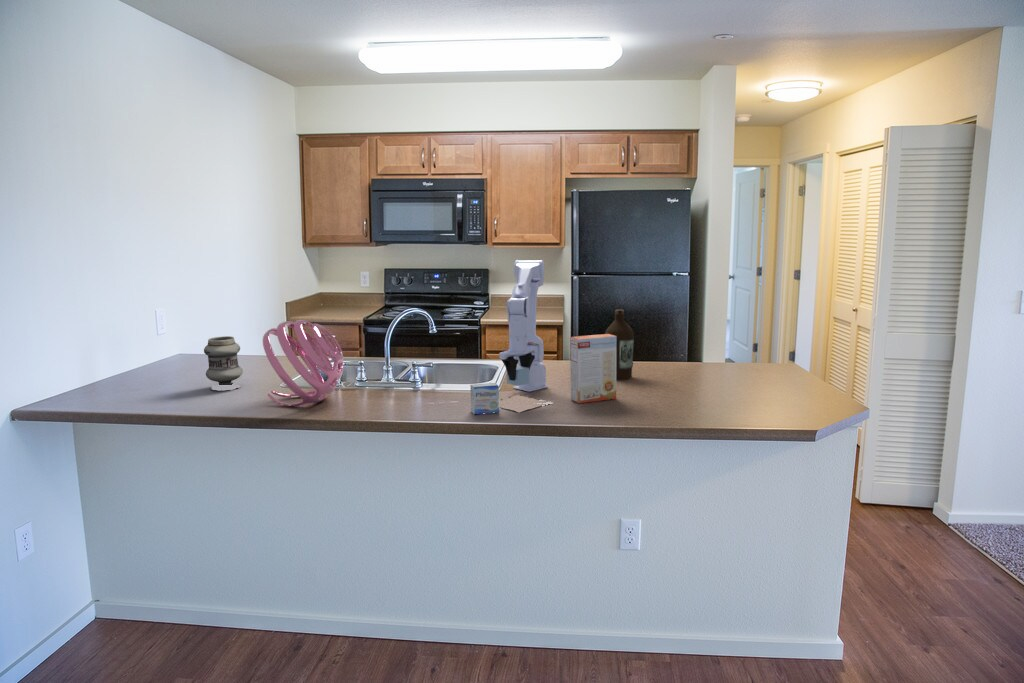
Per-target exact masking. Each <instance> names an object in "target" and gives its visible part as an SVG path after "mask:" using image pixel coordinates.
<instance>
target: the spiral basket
mask: <svg viewBox="0 0 1024 683" xmlns="http://www.w3.org/2000/svg"><path fill="white" fill-rule="evenodd" d="M303 324H304V325H306V326H307V327H308V328H310V329H311V332H312V334H313V336H314V337H313V336H312V335H311V334H310V333H309V332H308V331H306V330H305V329H304V326H303ZM286 327H289V328H291V329H293V330H294V334H295V335H296V338H297V340H298V341H297V340H296V339H295V338H293V337H292V336H291V335H289V334H288V333H287V332H286V330H285V329H286ZM322 331H323V332H324V333H325V334H324V333H323V332H322ZM270 335H273V336H276V337H277V340H278V342H279V345H280V347H281V350H282V351H283V353H284V355H285V357H286V358H287V360H288V361H289V362H290V364H291V365H292V367H293V368H294V369H295V371H296V372H297V373H298V374H299V375H300V377H301V378H303V380H304V381H305V382H306V383H307V384H309V385H310V386H311V387H312V388H314V389H312V390H309V391H304V390H303V389H302V388H301V387H300V386H299V385H298V384H297V383H296V382H295V381H294V380H293V379H292V378H291V377H290V376H289V374H288V373H287V372H286V370H285V369H284V368H283V366H282V365H281V363H280V361H279V360H278V357H277V356H276V354H275V352H274V350H273V347H272V344H271V341H270V340H271V339H270ZM326 335H327V336H328V337H327V336H326ZM314 338H315V339H314ZM328 338H330V340H331V341H332V342H333V344H334V345H335V346H334V345H333V344H332V343H331V341H330V340H329V339H328ZM262 347H263V350H264V353H265V355H266V358H267V360H268V362H269V363H270V365H271V367H272V368H273V370H274V371H275V373H276V374H277V376H278V377H279V378H280V379H281V381H282V382H283V383H284V384H285V386H286V387H287V388H288V389H289V390H291V391H292V392H293V393H292V394H290V393H281V392H277V391H273V390H272V391H270V393H268V394H267V396H268V397H269V399H270V400H272V401H273V402H274V403H276V404H277V405H280V404H283V405H291V406H296V407H301V406H300V405H302V406H305V405H310V404H318V403H317V402H319V403H321V402H322V401H323V400H324V399H326V396H327V395H328V394H331V393H333V392H334V390H335V389H336V387H337V386H338V380H339V379H341V377H342V376H343V371H344V353H343V350H342V348H341V346H340V344H339V342H338V341H337V340H336V338H335V337H334V336H333V334H332V333H331V332H330V331H329V330H328V329H327V328H325V327H324V326H323V325H321V324H320V323H319V324H318V323H312V322H311V321H308V320H306V319H298V320H295V321H290V320H289V321H288V320H287V321H283V322H280V323H279V324H277V327H276V328H274V327H273V328H270V329H268V330H267V331H265V333H264V334H263V336H262ZM294 351H295V352H296V353H295V352H294ZM297 354H298V356H299V357H300V358H301V360H302V361H303V362H301V360H300V359H299V357H298V356H297ZM329 358H330V359H331V360H332V361H333V364H332V363H331V361H330V359H329ZM303 363H304V364H305V365H306V366H305V365H304V364H303ZM320 371H321V372H322V373H323V374H324V375H326V376H327V379H326V381H324V378H323V377H322V374H321V372H320ZM271 394H273V395H275V396H278V397H282V398H285V397H291V396H299V397H300V398H299V399H301V401H299V402H293V403H289V402H287V403H286V402H283V401H280V400H278V399H277V398H275V397H274V396H273V395H271ZM320 401H321V402H320ZM283 405H282V406H283Z"/></svg>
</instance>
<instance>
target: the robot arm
mask: <svg viewBox="0 0 1024 683" xmlns="http://www.w3.org/2000/svg"><path fill="white" fill-rule="evenodd" d="M513 274H514V278H515V281H516V284H515V285H514V286H513V289H512V292H511V297H510V298H509V299H507V302H506V313H507V314H506V315H507V322H508V343H509V344H508V349H507V350H504V351H502V352H499V359H500V360H501V362H502V363H503V365H504V367H505V369H506V374H507V373H508V376H509V380H513V381H515V379H516V368H517V366H522V367H528V368H529V383H528V384H524V385H520V386H516V385H513V389H515V390H521V391H525V392H533V391H537V390H542V389H545V388H548V385H547V371H546V369H547V368H546V366H545V363H543V361H544V356H545V354H544V353H545V352H544V350H545V349H544V341H543V339H542V338H541V337H539V335H537V332H536V331H537V309H538V308H537V307H538V306H537V304H538V302H537V301H538V291H539V287H542V286H543V285H544V283H545V262H544V260H543V259H540V260H533V259H532V260H531V259H530V260H525V259H524V260H521V259H520V260H519V259H516V260H515V261H514V264H513Z"/></svg>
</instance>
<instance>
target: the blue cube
mask: <svg viewBox="0 0 1024 683" xmlns="http://www.w3.org/2000/svg"><path fill="white" fill-rule="evenodd" d="M528 383H529V368H528V367H522V366H518V365H517V368H516V379H515V381H513V380H509V376H508V373H507V372H506V384H507V385H511V386H520V385H524V384H528Z"/></svg>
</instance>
